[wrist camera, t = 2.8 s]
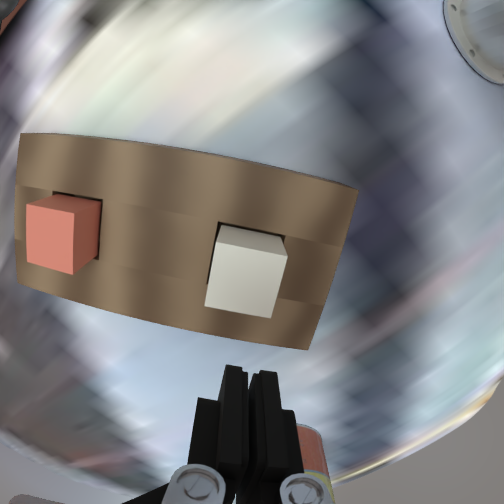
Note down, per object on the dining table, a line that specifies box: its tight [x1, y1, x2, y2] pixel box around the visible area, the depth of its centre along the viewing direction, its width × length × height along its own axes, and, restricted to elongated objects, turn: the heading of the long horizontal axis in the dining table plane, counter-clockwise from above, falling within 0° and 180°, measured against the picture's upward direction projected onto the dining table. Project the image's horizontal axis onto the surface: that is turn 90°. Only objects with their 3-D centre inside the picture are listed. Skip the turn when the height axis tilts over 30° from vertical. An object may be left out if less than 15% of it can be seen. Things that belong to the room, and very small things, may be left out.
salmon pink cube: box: [26, 194, 102, 275], centre depth 21 cm, size 4×4×4 cm
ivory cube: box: [204, 225, 288, 318], centre depth 22 cm, size 4×4×4 cm
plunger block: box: [14, 133, 359, 350], centre depth 25 cm, size 28×14×5 cm, turn 78°
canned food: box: [296, 424, 335, 504], centre depth 32 cm, size 11×11×12 cm
